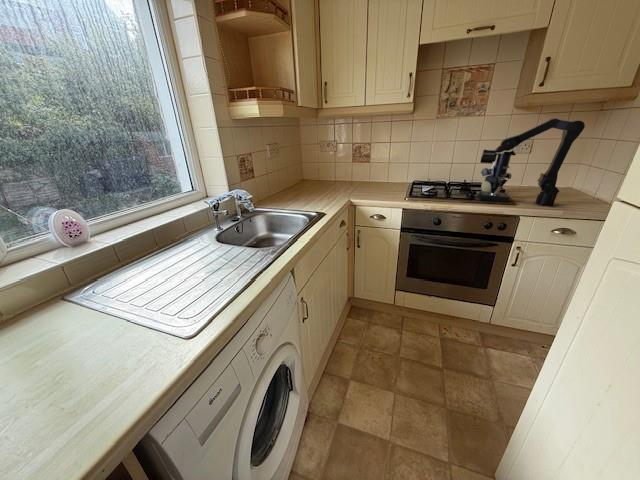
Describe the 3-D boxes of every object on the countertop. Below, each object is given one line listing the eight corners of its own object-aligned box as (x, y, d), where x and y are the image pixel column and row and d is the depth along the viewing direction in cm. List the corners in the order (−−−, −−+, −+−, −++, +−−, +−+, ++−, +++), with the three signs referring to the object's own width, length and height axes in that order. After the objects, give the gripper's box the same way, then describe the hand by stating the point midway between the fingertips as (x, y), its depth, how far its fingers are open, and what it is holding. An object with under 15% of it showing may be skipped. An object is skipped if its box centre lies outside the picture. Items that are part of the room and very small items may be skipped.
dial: (491, 192, 147) (493, 184, 145) (500, 193, 144) (502, 185, 142) (488, 193, 145) (490, 185, 143) (496, 195, 142) (499, 186, 140)
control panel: (504, 198, 148) (506, 192, 146) (508, 202, 139) (509, 196, 138) (478, 196, 152) (479, 190, 151) (480, 200, 144) (481, 194, 143)
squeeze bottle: (482, 194, 156) (489, 163, 149) (478, 191, 164) (485, 161, 156) (497, 194, 155) (505, 163, 147) (492, 191, 162) (500, 161, 155)
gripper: (493, 161, 149) (486, 188, 155) (478, 163, 139) (471, 192, 145) (515, 162, 141) (507, 191, 147) (501, 166, 131) (493, 196, 137)
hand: (494, 193), depth 144 cm, fingers closed on dial, 4 cm apart
